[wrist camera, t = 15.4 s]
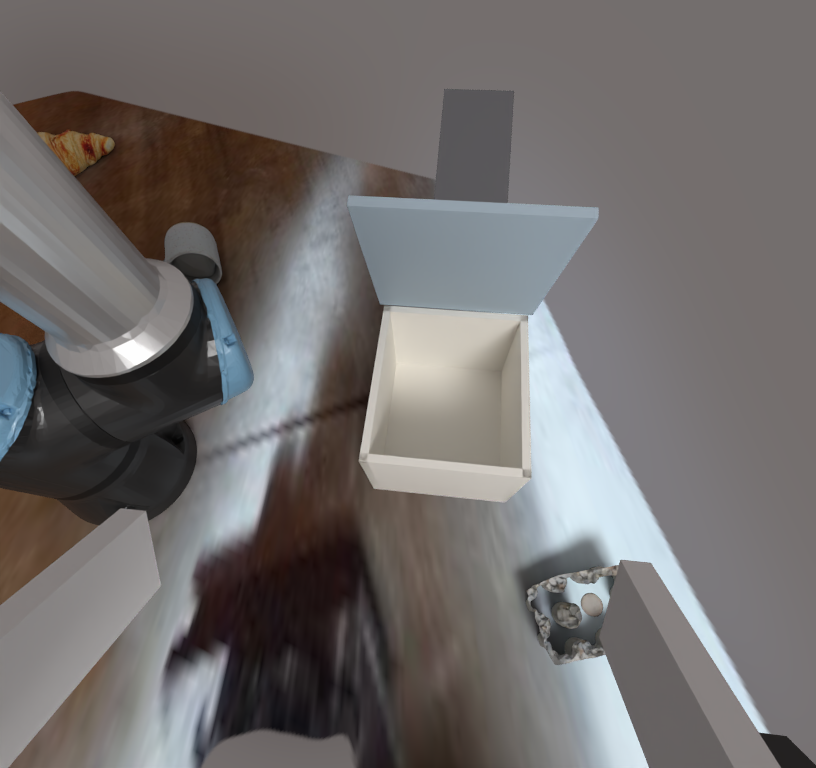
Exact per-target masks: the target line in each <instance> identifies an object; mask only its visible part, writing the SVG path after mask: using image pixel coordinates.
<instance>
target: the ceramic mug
mask: <svg viewBox="0 0 816 768" xmlns="http://www.w3.org/2000/svg"><path fill="white" fill-rule="evenodd" d="M163 262H166V263H168V264H171V265H173V266H174V267H176V268H177V269H178V270H180V271H181V272H182V274H183V275H184V276H185V277H186V278H187V279H188V281H189V282H190V283H192V281H193V280H195V279H204V278H208V279H211V280H213V281H214V282H215V284H217V283H218V282H219V281H220V279H221V277H222V268H221V264H220V259H219V255H218V251H217V245H216V242H215V240H214V238H213V236H212V234H211V233H210V232H209V231H208V230H207V229H206V228H205V227H203V226H201V225H199V224H196V223H193V222H181V223H177V224H175V225H173V226H172V227H171V228H170V229H169V230H168V232H167V234H166V237H165V259H164V261H163Z"/></svg>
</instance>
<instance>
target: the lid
mask: <svg viewBox="0 0 816 768" xmlns="http://www.w3.org/2000/svg"><path fill="white" fill-rule="evenodd" d="M513 99H514V91H495V90H459V89H444V100H443V110H442V121H441V131H440V142H439V152H438V164H437V174H436V184H435V194H434V200H432V199H411V198H391V197H371V196H350V195H348V202H347V207H348V210H349V213H350V216H351V219H352V222H353V225H354V228H355V231H356V234H357V237H358V240H359V243H360V246H361V249H362V252H363V255H364V258H365V261H366V264H367V267H368V270H369V273H370V276H371V279H372V282H373V285H374V288H375V291H376V294H377V297H378V300H379V303H380V304H382V305H396V306H410V307H425V308H439V309H453V310H468V311H482V312H496V313H511V314H525V315H533V314H534V312H535V311H536V309H537V308H538V306H539V305H540V303H541V302H542V300H543V299H544V297H545V296H546V294H547V293H548V292H549V290H550V288H551V287H552V286H553V284H554V283H555V281H556V280H557V278H558V277H559V275H560V274H561V272H562V271H563V270H564V268H565V267H566V265H567V264H568V262H569V261H570V259H571V258H572V256H573V255H574V253H575V252H576V251H577V249H578V248H579V246H580V245H581V243H582V242H583V240H584V239H585V237H586V236H587V234H588V233H589V232H590V230H591V229H592V227H593V226H594V224H595V222H596V221H597V220H598V210H599V209H598V208H595V207H572V206H553V205H534V204H513V203H512V204H511V203H508V186H509V168H510V152H511V135H512V134H511V133H512V117H513Z"/></svg>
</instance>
